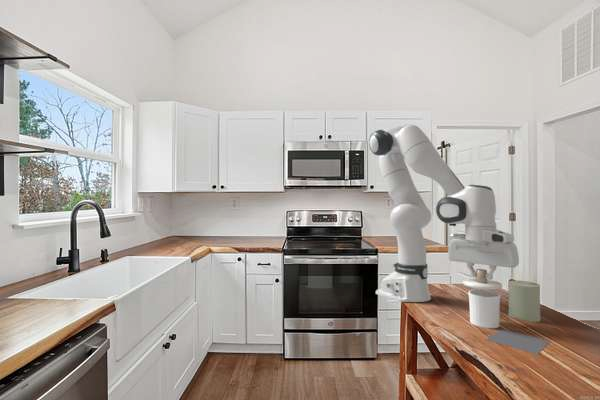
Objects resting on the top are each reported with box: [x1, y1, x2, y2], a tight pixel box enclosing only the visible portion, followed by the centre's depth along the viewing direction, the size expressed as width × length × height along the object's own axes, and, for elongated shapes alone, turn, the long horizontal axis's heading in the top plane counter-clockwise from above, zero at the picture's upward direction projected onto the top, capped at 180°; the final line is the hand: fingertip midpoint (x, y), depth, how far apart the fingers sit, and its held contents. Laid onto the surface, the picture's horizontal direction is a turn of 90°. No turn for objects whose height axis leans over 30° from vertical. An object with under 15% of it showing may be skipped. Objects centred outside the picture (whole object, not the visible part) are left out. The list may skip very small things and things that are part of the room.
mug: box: [468, 289, 501, 329], centre depth 106 cm, size 11×9×10 cm
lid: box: [462, 268, 503, 291], centre depth 106 cm, size 11×11×5 cm
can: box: [507, 280, 542, 323], centre depth 112 cm, size 9×9×12 cm
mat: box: [485, 328, 550, 355], centre depth 91 cm, size 12×12×1 cm
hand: (481, 278), depth 106 cm, fingers closed on lid, 3 cm apart
